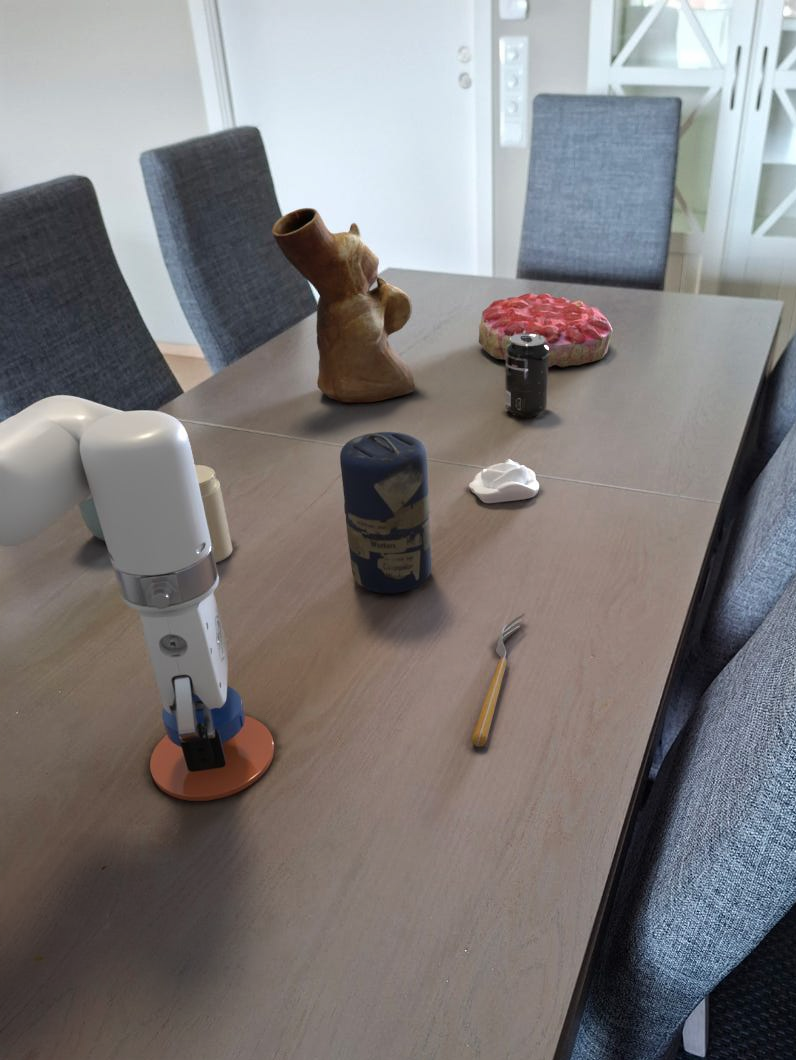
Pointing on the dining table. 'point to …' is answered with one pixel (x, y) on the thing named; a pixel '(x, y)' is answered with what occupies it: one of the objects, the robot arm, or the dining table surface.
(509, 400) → the beverage can
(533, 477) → the rose
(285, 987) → the dining table surface
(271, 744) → the coaster
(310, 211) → the ceramic vessel
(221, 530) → the jam jar
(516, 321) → the cake
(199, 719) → the jam lid
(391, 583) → the canister
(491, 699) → the fork
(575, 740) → the dining table surface
